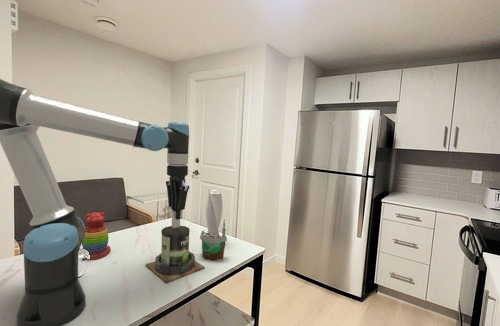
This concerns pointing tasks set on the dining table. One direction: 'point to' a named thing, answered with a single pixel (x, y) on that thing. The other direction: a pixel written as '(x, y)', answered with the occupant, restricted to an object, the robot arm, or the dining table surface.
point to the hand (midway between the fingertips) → (175, 226)
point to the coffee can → (175, 245)
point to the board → (173, 277)
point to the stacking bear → (96, 236)
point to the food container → (212, 246)
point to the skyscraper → (214, 212)
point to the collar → (176, 268)
